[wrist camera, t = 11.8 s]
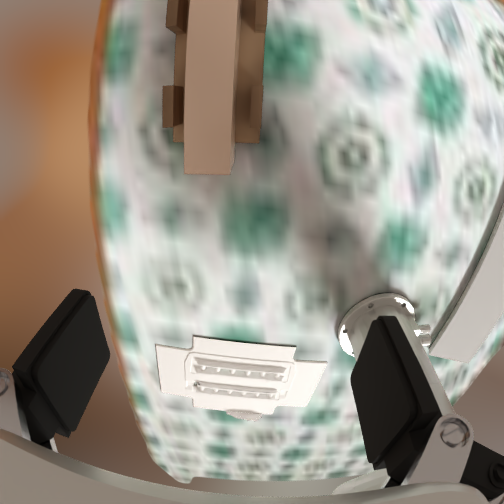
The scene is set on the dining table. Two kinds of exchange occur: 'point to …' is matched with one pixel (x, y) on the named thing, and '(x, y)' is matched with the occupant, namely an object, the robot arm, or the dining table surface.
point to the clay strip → (211, 86)
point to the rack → (247, 70)
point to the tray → (238, 376)
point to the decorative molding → (476, 304)
